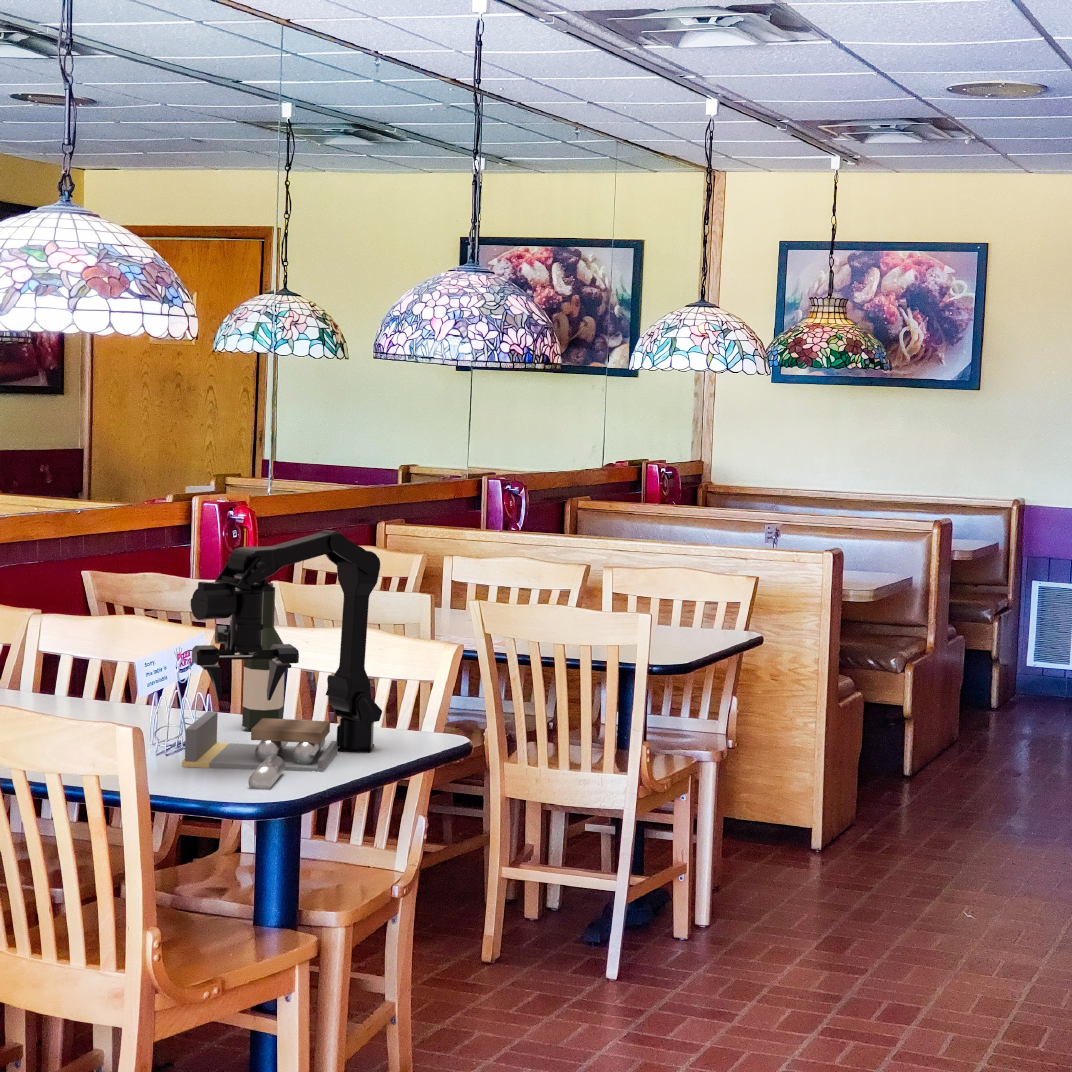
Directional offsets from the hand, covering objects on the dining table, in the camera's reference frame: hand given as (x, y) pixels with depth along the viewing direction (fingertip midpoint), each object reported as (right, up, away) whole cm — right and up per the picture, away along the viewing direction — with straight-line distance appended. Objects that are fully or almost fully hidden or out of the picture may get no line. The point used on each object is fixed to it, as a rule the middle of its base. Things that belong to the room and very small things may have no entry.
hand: (243, 700), depth 271 cm
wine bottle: (-3, -9, +36) cm, 37 cm away
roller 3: (+11, -11, +7) cm, 17 cm away
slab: (+8, -7, +6) cm, 12 cm away
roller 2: (+5, -14, -10) cm, 18 cm away
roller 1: (+4, -11, +7) cm, 14 cm away
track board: (+2, -12, +7) cm, 14 cm away
